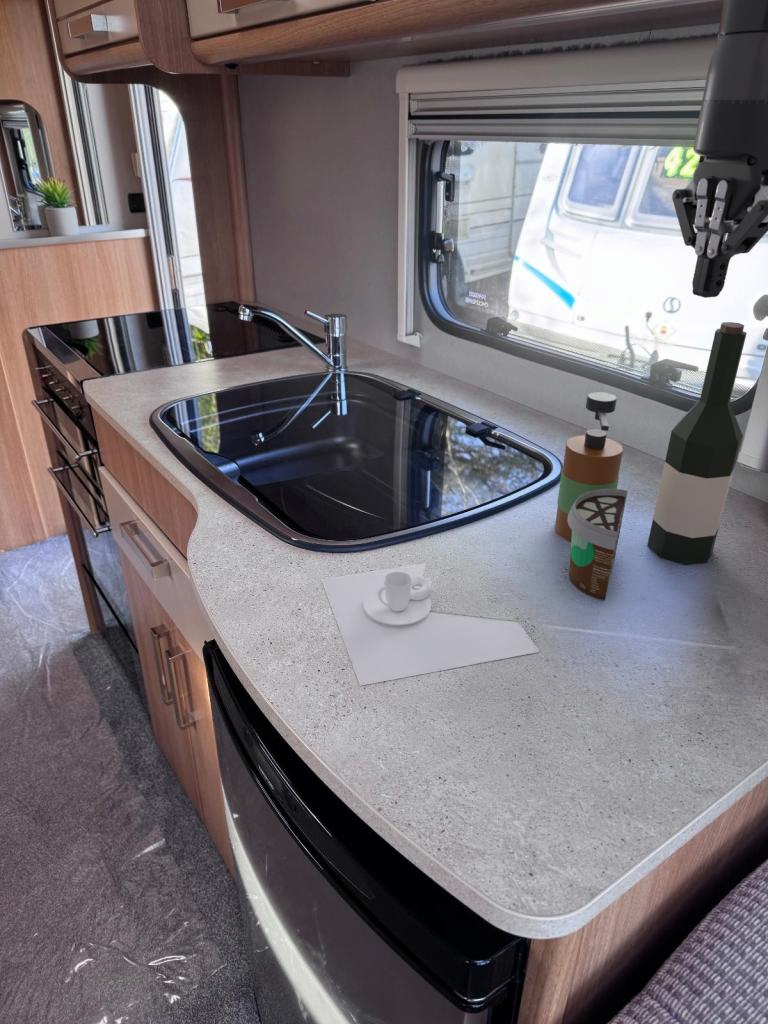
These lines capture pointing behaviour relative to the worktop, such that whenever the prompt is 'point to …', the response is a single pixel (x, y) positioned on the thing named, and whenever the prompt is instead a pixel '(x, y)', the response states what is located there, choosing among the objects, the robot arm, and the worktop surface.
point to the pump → (601, 406)
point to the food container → (595, 539)
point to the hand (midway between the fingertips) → (705, 295)
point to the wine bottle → (700, 461)
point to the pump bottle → (586, 472)
